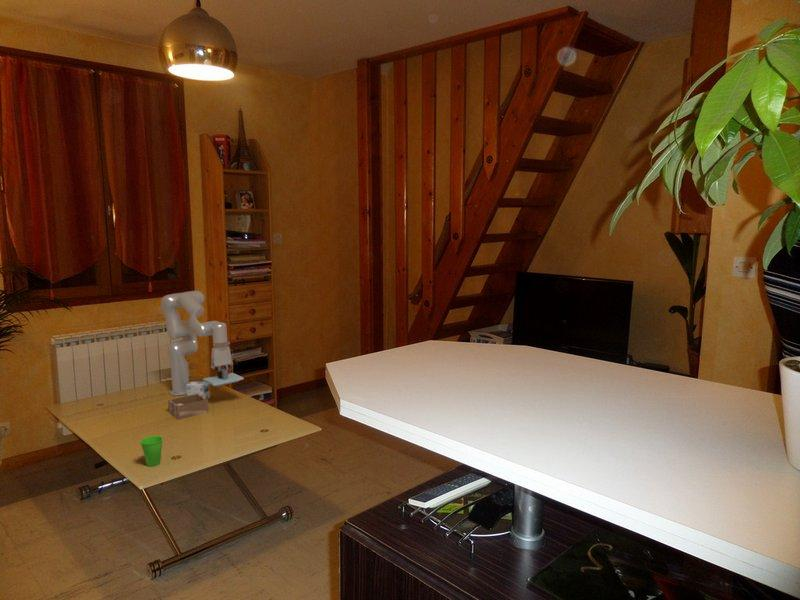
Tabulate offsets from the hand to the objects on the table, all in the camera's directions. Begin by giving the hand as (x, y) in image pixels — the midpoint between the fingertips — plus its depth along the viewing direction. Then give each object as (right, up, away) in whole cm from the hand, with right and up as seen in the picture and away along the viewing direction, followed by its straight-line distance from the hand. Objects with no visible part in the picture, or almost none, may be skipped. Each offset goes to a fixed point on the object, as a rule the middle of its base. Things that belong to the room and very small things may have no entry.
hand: (223, 377), depth 305 cm
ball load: (-19, -17, -11) cm, 28 cm away
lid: (0, -3, 0) cm, 3 cm away
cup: (-7, -27, -70) cm, 76 cm away
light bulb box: (-17, -15, +10) cm, 25 cm away
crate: (-15, -18, -11) cm, 26 cm away
